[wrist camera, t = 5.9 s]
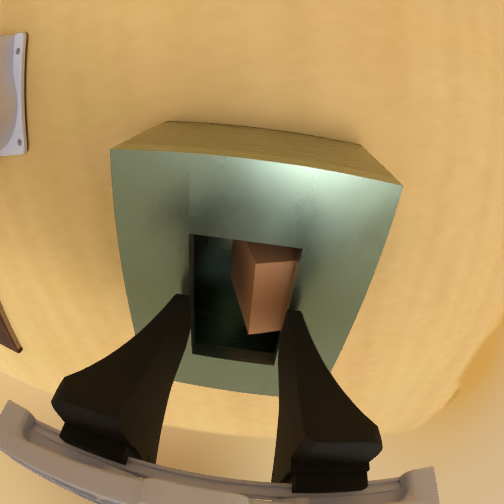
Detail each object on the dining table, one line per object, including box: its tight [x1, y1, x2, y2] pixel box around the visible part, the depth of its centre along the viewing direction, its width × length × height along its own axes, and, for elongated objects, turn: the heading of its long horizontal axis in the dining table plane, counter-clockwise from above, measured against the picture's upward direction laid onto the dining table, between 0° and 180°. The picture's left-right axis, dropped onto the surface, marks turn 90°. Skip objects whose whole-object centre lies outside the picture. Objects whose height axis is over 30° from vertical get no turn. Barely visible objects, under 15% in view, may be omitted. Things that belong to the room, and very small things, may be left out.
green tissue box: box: [110, 121, 403, 397], centre depth 17 cm, size 14×11×7 cm
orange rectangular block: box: [231, 239, 299, 335], centre depth 17 cm, size 4×2×5 cm, turn 176°
